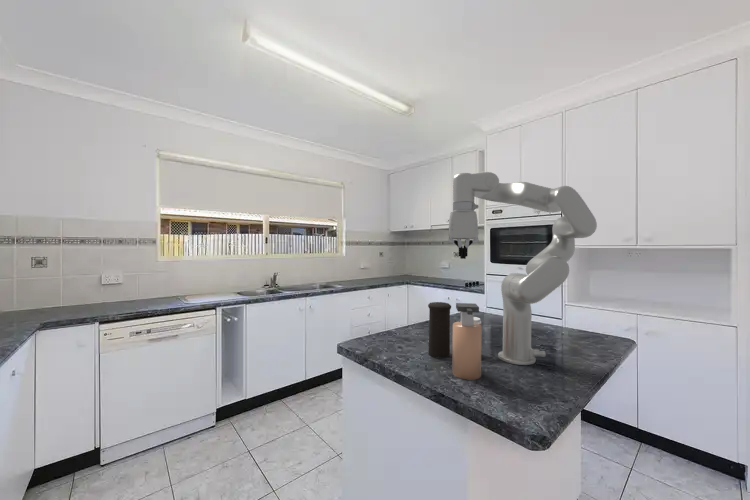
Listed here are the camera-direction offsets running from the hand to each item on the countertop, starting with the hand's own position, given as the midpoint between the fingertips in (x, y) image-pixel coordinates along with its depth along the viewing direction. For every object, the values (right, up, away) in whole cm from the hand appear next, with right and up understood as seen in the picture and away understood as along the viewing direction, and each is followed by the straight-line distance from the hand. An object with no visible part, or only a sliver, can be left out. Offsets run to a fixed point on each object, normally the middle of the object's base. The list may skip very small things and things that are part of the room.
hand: (462, 258), depth 115 cm
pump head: (-2, -21, -14) cm, 26 cm away
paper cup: (+5, -37, +6) cm, 38 cm away
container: (-7, -37, +6) cm, 38 cm away
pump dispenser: (-2, -37, -12) cm, 39 cm away
